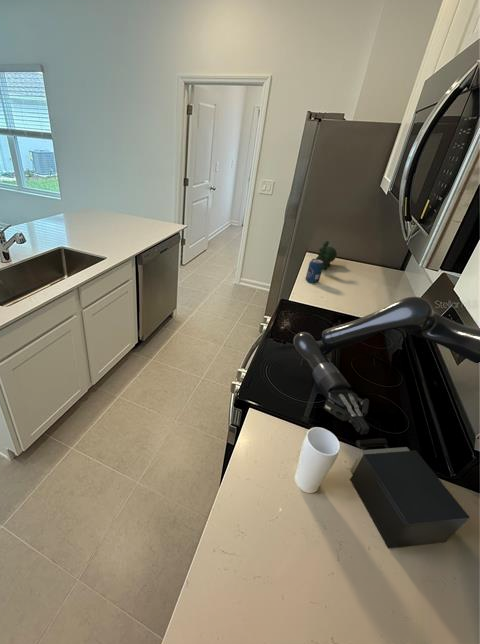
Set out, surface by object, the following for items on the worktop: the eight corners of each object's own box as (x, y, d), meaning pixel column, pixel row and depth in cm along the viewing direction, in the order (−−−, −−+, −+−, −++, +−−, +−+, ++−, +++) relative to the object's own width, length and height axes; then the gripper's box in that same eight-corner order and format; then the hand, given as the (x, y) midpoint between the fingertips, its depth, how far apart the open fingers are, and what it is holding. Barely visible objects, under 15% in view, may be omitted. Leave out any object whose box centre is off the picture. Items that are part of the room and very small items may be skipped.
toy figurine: (324, 277, 175) (337, 261, 192) (332, 246, 165) (345, 232, 181) (308, 272, 180) (321, 257, 197) (315, 242, 170) (329, 229, 186)
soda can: (302, 279, 168) (307, 258, 162) (313, 278, 169) (319, 258, 163) (309, 284, 162) (315, 263, 156) (321, 284, 164) (327, 263, 158)
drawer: (341, 455, 76) (350, 434, 72) (383, 452, 77) (395, 431, 73) (383, 531, 62) (398, 510, 58) (434, 525, 63) (453, 505, 59)
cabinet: (349, 479, 71) (363, 454, 67) (399, 475, 73) (415, 450, 68) (388, 548, 60) (407, 524, 55) (445, 542, 61) (470, 517, 56)
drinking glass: (304, 502, 66) (322, 460, 59) (284, 474, 72) (299, 432, 64) (328, 490, 69) (348, 449, 61) (307, 464, 74) (323, 422, 67)
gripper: (312, 372, 87) (344, 423, 73) (355, 370, 89) (395, 420, 74) (306, 391, 91) (335, 443, 76) (347, 389, 93) (384, 440, 78)
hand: (365, 432), depth 75 cm, fingers closed
